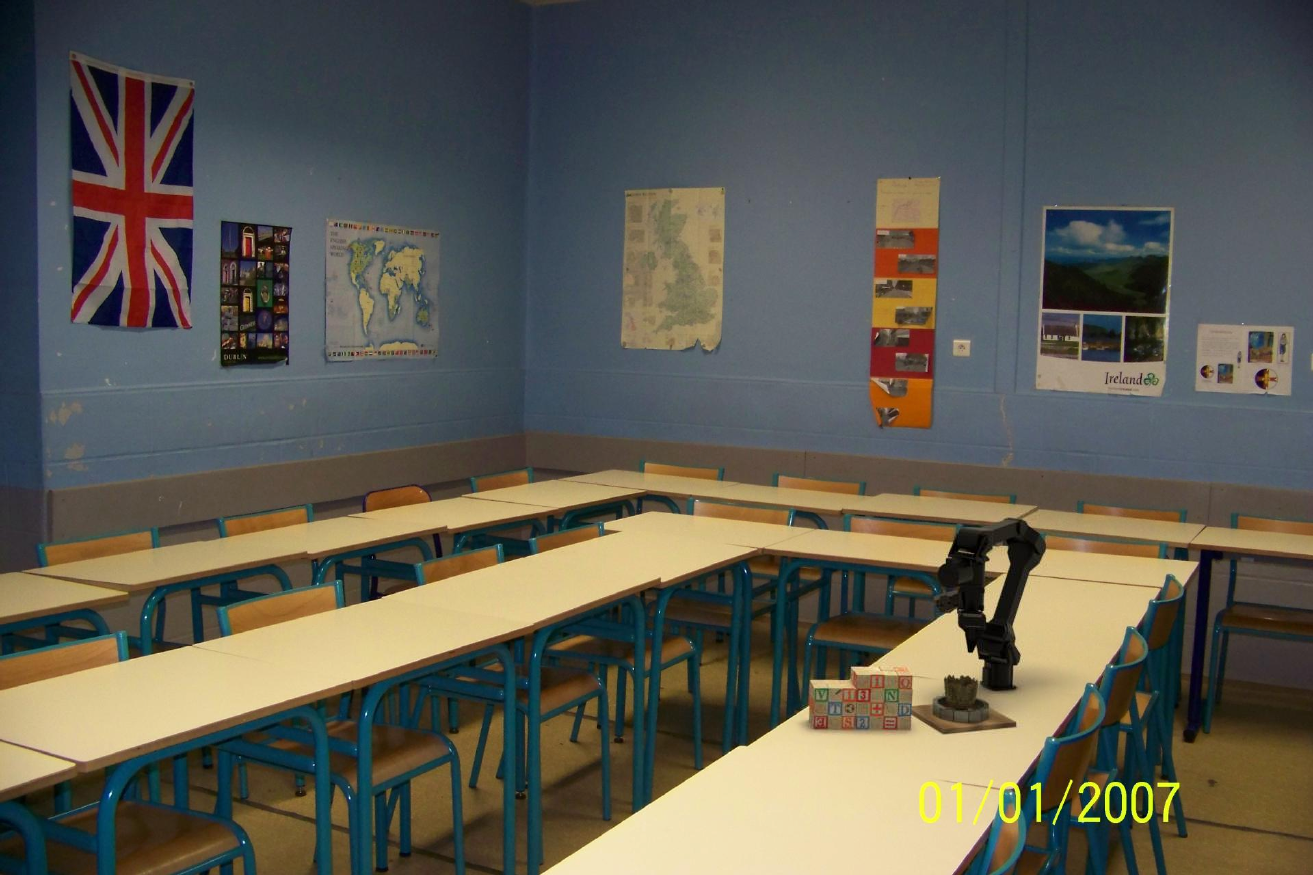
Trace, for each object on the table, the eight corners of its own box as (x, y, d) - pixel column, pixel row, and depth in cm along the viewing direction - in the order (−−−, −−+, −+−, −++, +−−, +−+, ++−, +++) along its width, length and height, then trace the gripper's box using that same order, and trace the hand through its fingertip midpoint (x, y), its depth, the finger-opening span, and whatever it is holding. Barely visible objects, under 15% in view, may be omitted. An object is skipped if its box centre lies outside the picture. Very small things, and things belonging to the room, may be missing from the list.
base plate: (975, 704, 273) (976, 700, 273) (1016, 726, 258) (1016, 721, 258) (906, 710, 268) (906, 706, 268) (943, 733, 252) (943, 729, 252)
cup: (974, 709, 266) (975, 674, 265) (979, 720, 258) (981, 684, 258) (940, 708, 267) (941, 673, 266) (945, 718, 259) (946, 682, 259)
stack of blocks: (812, 729, 255) (814, 674, 253) (808, 720, 261) (809, 665, 260) (911, 730, 255) (913, 674, 254) (904, 720, 261) (906, 666, 260)
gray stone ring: (969, 703, 270) (969, 693, 270) (999, 720, 259) (999, 709, 258) (922, 708, 266) (922, 697, 266) (950, 725, 255) (951, 713, 255)
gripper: (936, 572, 286) (934, 635, 288) (936, 588, 268) (934, 655, 270) (983, 574, 284) (981, 638, 285) (987, 591, 266) (985, 659, 267)
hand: (969, 647), depth 277 cm, fingers open, 9 cm apart
